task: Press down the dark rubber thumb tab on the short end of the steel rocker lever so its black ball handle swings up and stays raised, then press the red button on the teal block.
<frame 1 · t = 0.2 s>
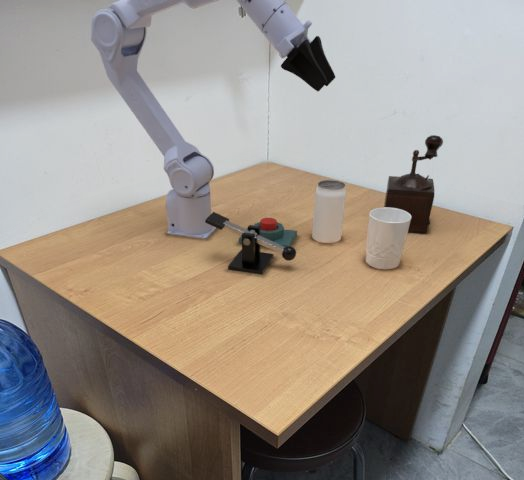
hand: (327, 84, 85), 31 cm above the table, tool tilted 45°, fingers open, 7 cm apart
button block: (268, 240, 107), on the table
lever: (252, 236, 94), point 6 cm above the table, hinge at -18.0°
brown coffee grinder: (404, 220, 117), on the table
bracket: (251, 264, 97), on the table
can: (326, 239, 108), on the table
white cup: (382, 263, 99), on the table
button: (268, 224, 104), point 4 cm above the table, slide at 0.1 cm
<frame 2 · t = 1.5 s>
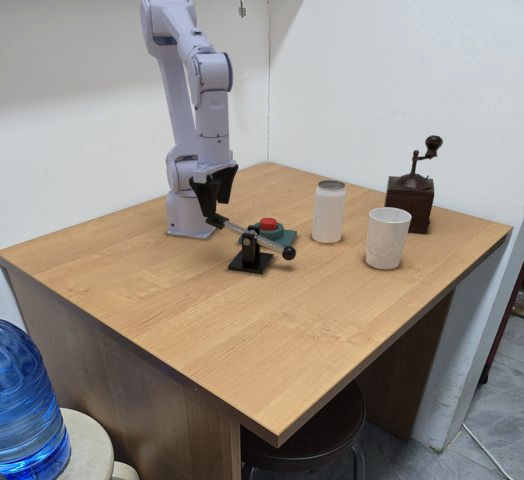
hand: (216, 209, 93), 10 cm above the table, tool pointing down, fingers open, 7 cm apart
nothing on the table moved.
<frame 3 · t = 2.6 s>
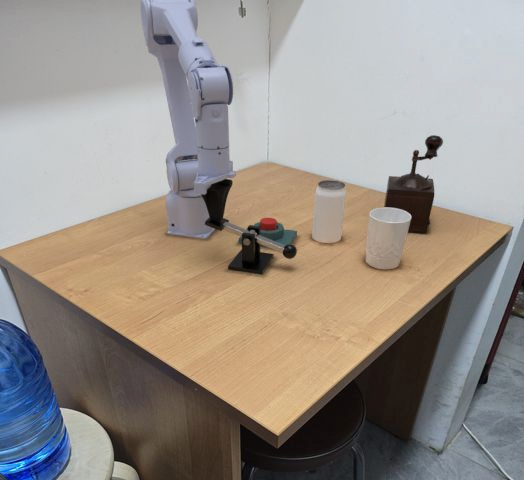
hand: (216, 219, 94), 8 cm above the table, tool pointing down, fingers closed, pressing on lever
lever: (252, 236, 94), point 6 cm above the table, hinge at -15.0°, touching gripper
everything else where it was.
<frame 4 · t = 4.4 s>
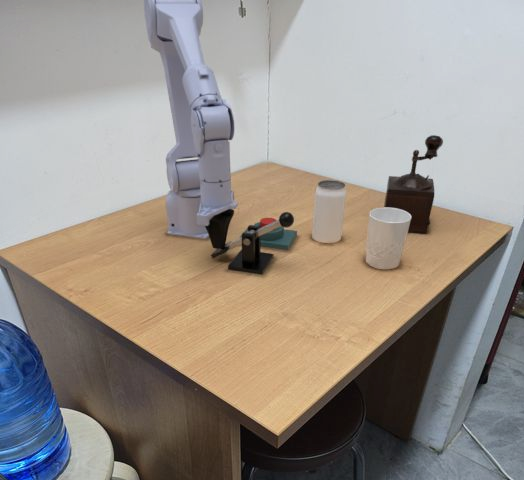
hand: (218, 247, 97), 3 cm above the table, tool pointing down, fingers closed, pressing on lever
lever: (252, 235, 94), point 6 cm above the table, hinge at 31.2°, touching gripper
everything else where it was.
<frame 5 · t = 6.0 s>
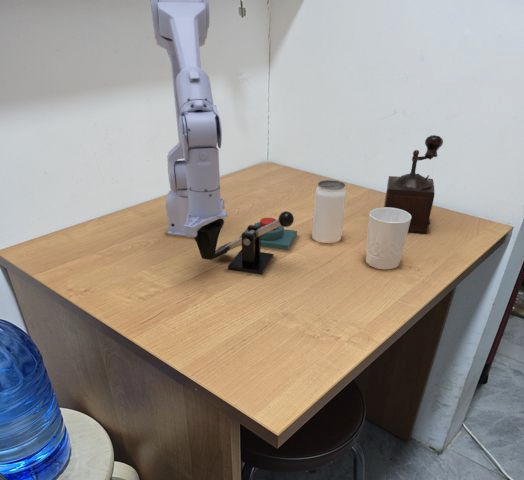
hand: (208, 257, 93), 3 cm above the table, tool pointing down, fingers closed
lever: (252, 235, 94), point 6 cm above the table, hinge at 32.0°
everything else where it was.
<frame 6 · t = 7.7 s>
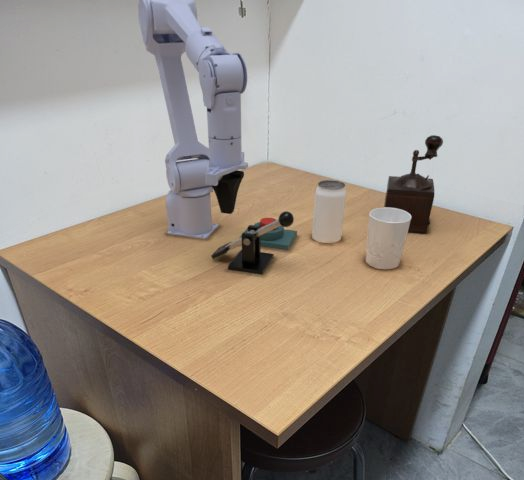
hand: (227, 212, 92), 10 cm above the table, tool pointing down, fingers closed
nothing on the table moved.
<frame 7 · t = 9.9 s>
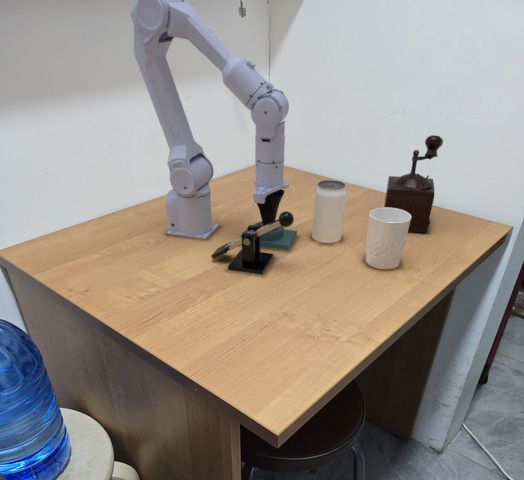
hand: (268, 225, 105), 4 cm above the table, tool pointing down, fingers closed, pressing on button
button: (268, 228, 105), point 3 cm above the table, slide at -0.9 cm, touching gripper
everything else where it was.
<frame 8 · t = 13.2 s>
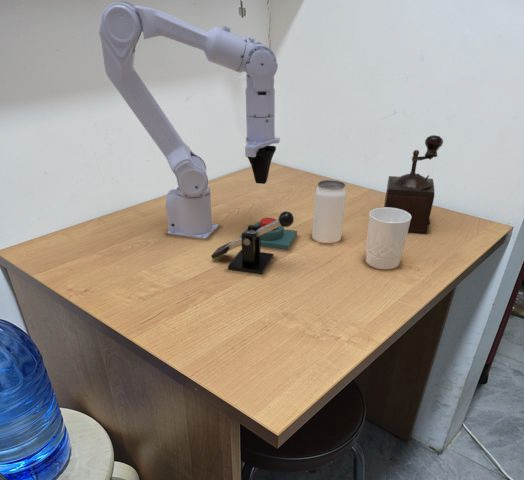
hand: (261, 182, 106), 10 cm above the table, tool pointing down, fingers closed
button: (268, 224, 104), point 4 cm above the table, slide at 0.1 cm
everything else where it was.
at the end: lever at +32° (first picture: -18°); button pushed in 1.2 cm at the most during the clip, back to where it started at the end; button slide at 0.1 cm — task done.
